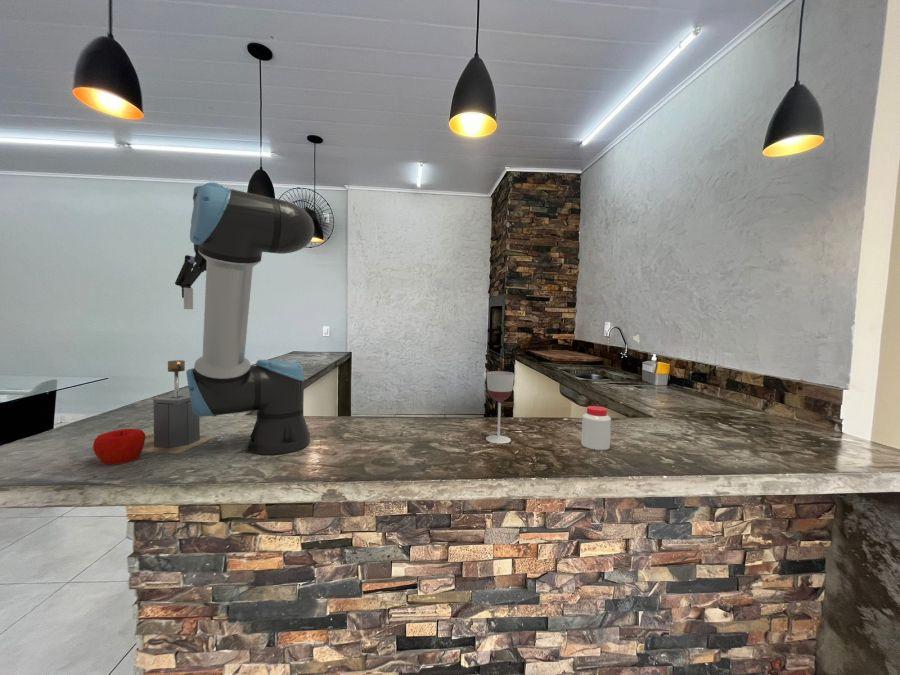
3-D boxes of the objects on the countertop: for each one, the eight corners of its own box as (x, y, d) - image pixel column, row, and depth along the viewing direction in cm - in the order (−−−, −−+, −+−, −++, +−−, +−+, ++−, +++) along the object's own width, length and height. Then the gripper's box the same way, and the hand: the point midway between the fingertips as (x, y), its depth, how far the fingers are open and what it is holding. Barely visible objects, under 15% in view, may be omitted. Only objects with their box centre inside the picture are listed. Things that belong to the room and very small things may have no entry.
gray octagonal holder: (213, 434, 105) (212, 392, 105) (179, 448, 93) (178, 401, 93) (181, 432, 106) (181, 391, 105) (144, 446, 94) (143, 400, 94)
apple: (87, 475, 80) (87, 439, 79) (101, 461, 88) (101, 428, 87) (140, 468, 84) (140, 434, 84) (149, 455, 92) (149, 424, 91)
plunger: (198, 431, 102) (197, 360, 101) (178, 438, 95) (177, 362, 94) (175, 430, 102) (175, 359, 101) (154, 437, 96) (153, 362, 95)
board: (216, 440, 104) (216, 436, 104) (178, 458, 91) (178, 453, 91) (143, 436, 105) (143, 432, 105) (96, 452, 93) (96, 448, 92)
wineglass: (516, 438, 113) (518, 372, 112) (504, 445, 105) (506, 376, 104) (492, 433, 117) (494, 370, 116) (479, 440, 110) (481, 373, 109)
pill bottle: (580, 447, 106) (582, 409, 105) (581, 439, 113) (583, 404, 112) (610, 451, 103) (611, 412, 102) (609, 443, 110) (611, 406, 109)
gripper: (254, 243, 116) (254, 310, 117) (180, 242, 118) (181, 309, 119) (239, 237, 108) (239, 310, 109) (160, 237, 111) (161, 308, 112)
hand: (209, 309), depth 114 cm, fingers open, 13 cm apart
